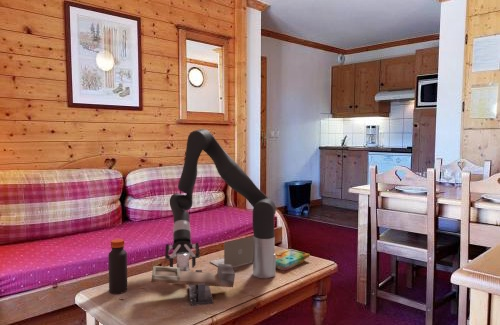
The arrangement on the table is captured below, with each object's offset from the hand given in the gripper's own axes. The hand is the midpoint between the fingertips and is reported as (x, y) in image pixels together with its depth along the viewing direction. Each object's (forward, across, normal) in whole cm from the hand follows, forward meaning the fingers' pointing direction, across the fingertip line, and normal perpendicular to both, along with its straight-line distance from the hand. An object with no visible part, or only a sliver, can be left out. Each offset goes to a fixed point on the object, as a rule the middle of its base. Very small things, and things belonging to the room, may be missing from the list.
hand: (182, 267), depth 155 cm
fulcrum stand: (+14, +6, -5) cm, 16 cm away
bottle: (+7, -25, +2) cm, 26 cm away
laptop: (-10, +24, +20) cm, 33 cm away
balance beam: (+10, +3, -10) cm, 14 cm away
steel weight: (+4, 0, +5) cm, 6 cm away
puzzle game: (-5, +50, +15) cm, 53 cm away
